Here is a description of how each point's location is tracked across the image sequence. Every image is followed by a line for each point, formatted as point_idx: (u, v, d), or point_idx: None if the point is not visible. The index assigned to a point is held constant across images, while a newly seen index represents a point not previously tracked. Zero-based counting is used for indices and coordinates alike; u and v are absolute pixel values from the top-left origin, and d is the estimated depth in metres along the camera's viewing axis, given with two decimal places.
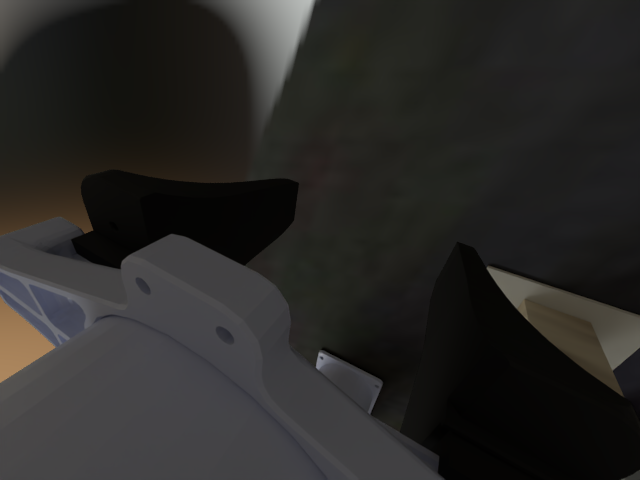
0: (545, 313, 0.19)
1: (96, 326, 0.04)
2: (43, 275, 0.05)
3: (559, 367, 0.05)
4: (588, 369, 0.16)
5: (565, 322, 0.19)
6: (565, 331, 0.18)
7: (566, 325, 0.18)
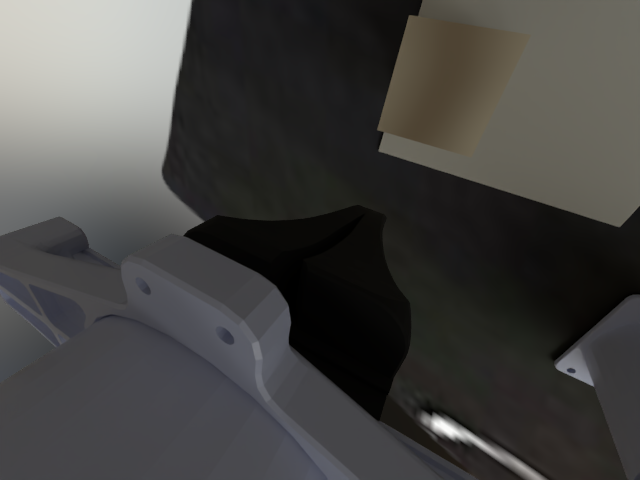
0: None
1: (96, 326, 0.04)
2: (43, 275, 0.05)
3: (364, 279, 0.06)
4: None
5: None
6: None
7: None
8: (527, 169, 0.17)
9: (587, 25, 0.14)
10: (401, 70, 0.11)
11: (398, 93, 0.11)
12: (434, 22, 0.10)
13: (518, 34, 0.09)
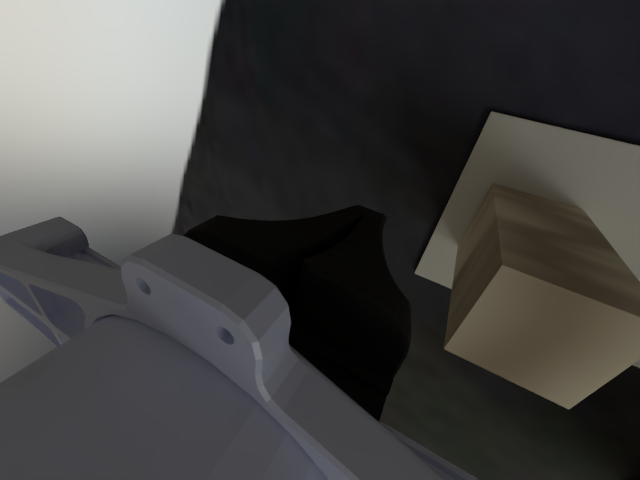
0: (466, 235, 0.15)
1: (96, 326, 0.04)
2: (43, 275, 0.05)
3: (364, 279, 0.06)
4: (480, 246, 0.11)
5: (476, 219, 0.14)
6: (474, 230, 0.14)
7: (476, 221, 0.14)
8: None
9: None
10: (484, 309, 0.09)
11: (477, 328, 0.09)
12: (537, 281, 0.08)
13: None
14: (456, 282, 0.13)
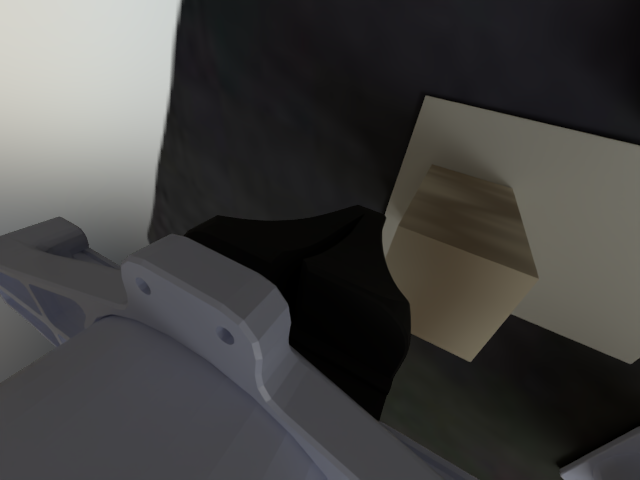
0: None
1: (96, 326, 0.04)
2: (43, 275, 0.05)
3: (364, 279, 0.06)
4: None
5: None
6: None
7: None
8: (530, 296, 0.16)
9: (596, 174, 0.12)
10: (390, 269, 0.10)
11: None
12: (426, 239, 0.09)
13: (524, 275, 0.08)
14: None
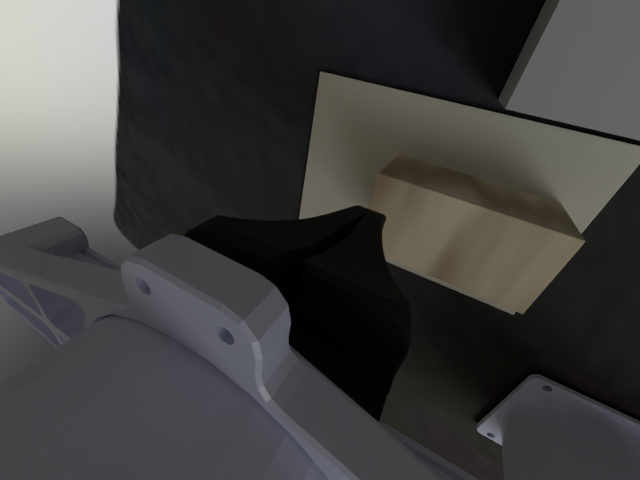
0: None
1: (96, 326, 0.04)
2: (43, 275, 0.05)
3: (364, 279, 0.06)
4: (473, 235, 0.12)
5: (389, 213, 0.13)
6: (407, 224, 0.13)
7: (395, 215, 0.13)
8: None
9: (459, 138, 0.14)
10: None
11: None
12: None
13: None
14: (445, 272, 0.13)
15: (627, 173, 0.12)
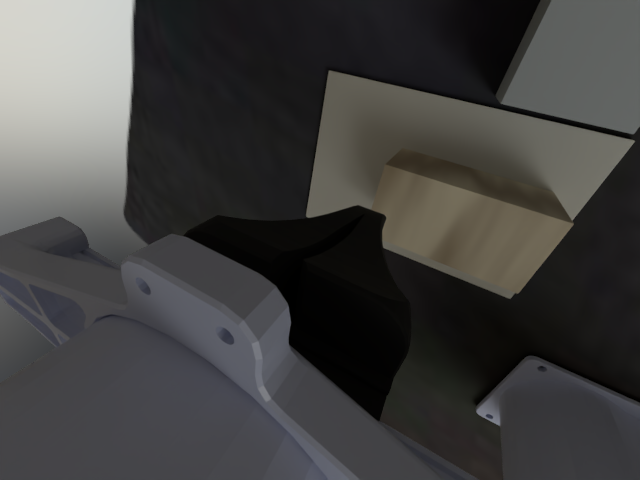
0: None
1: (96, 326, 0.04)
2: (43, 275, 0.05)
3: (364, 279, 0.06)
4: (472, 221, 0.13)
5: (394, 202, 0.14)
6: (412, 212, 0.14)
7: (400, 204, 0.14)
8: None
9: (459, 132, 0.15)
10: None
11: None
12: None
13: (555, 195, 0.14)
14: (446, 256, 0.14)
15: (613, 163, 0.13)
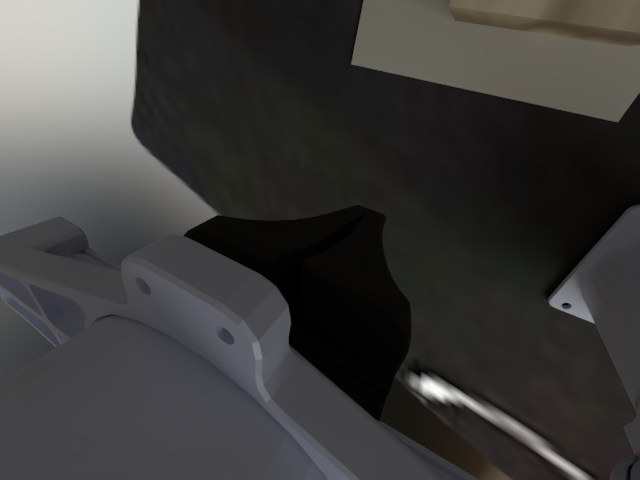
0: None
1: (96, 326, 0.04)
2: (43, 275, 0.05)
3: (364, 279, 0.06)
4: None
5: None
6: None
7: None
8: (513, 63, 0.15)
9: None
10: None
11: None
12: None
13: None
14: (569, 5, 0.11)
15: None
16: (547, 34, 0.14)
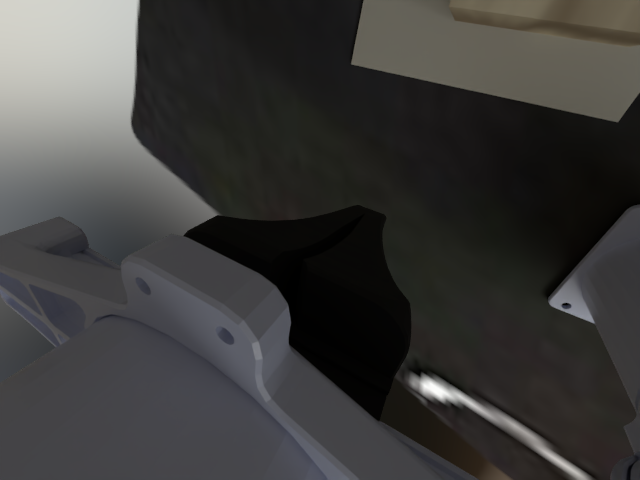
0: None
1: (96, 326, 0.04)
2: (43, 275, 0.05)
3: (364, 279, 0.06)
4: None
5: None
6: None
7: None
8: (513, 63, 0.15)
9: None
10: None
11: None
12: None
13: None
14: (569, 5, 0.11)
15: None
16: (547, 34, 0.14)
